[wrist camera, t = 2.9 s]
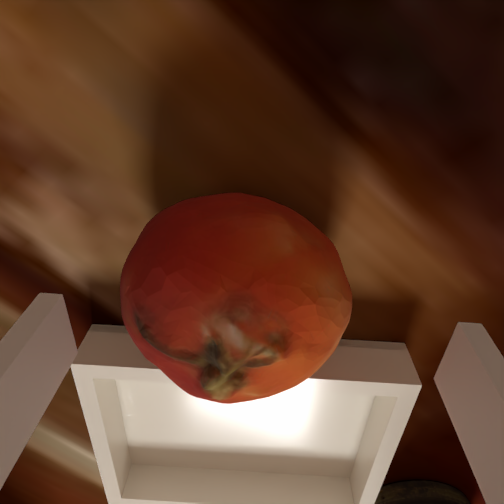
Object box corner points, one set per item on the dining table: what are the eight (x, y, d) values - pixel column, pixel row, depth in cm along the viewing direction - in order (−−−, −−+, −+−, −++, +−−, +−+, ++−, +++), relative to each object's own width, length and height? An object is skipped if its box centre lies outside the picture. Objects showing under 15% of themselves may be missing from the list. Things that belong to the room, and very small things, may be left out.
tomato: (370, 267, 20) (421, 400, 13) (229, 343, 23) (213, 482, 16) (261, 117, 16) (256, 193, 10) (112, 231, 20) (29, 350, 13)
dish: (122, 463, 30) (108, 505, 28) (92, 324, 23) (69, 363, 20) (358, 477, 30) (367, 521, 27) (404, 343, 23) (422, 385, 20)
